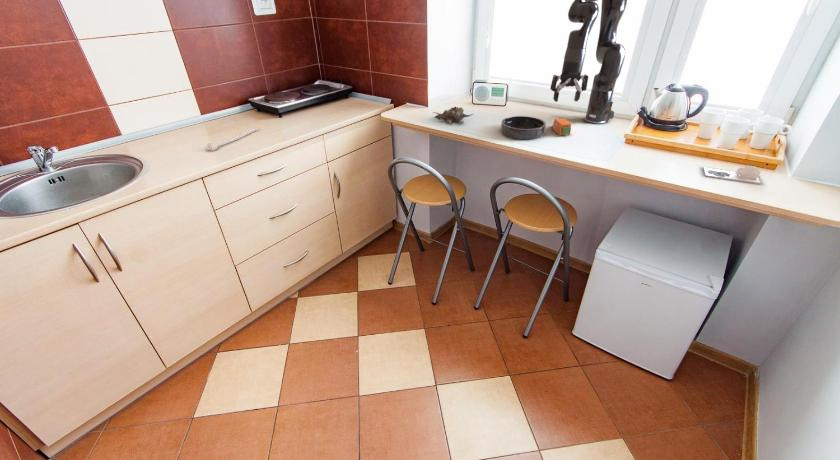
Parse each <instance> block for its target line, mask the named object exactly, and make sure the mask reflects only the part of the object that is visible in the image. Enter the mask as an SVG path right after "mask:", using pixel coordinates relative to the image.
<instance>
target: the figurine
mask: <svg viewBox="0 0 840 460" xmlns="http://www.w3.org/2000/svg"><path fill="white" fill-rule="evenodd" d="M464 111H465V110H464V109H463V107H458V106H454V107H451V108H450V109H448V110H446V109H445V110H444V111H443V112H442V113H439V112H437V111H432V114H437V115H435V116H432V118H433V119H434V118H435V119H437V120H440V121H441V120H443V121H445V124H451V123H452V122H456V123H458V124H459V125H462V124H464V121H463V119H464V118H468V117H471V116H473V115H474V113H470V114H465V113H464Z"/></svg>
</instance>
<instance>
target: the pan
mask: <svg viewBox="0 0 840 460" xmlns="http://www.w3.org/2000/svg"><path fill="white" fill-rule="evenodd" d="M500 124H501V125H500V132H501V134H502V135H503V136H504V137H506V138H510V139H513V140H521V141H527V140H528V141H529V140H531V141H532V140H537V139H540V138H542V137H543V136H544V135H545V133H546V127H547V123H546V121H544V120H543V119H541V118H538V117H534V116H527V115H515V116H508V117H504V118H503V119H502V120H501V123H500Z"/></svg>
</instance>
